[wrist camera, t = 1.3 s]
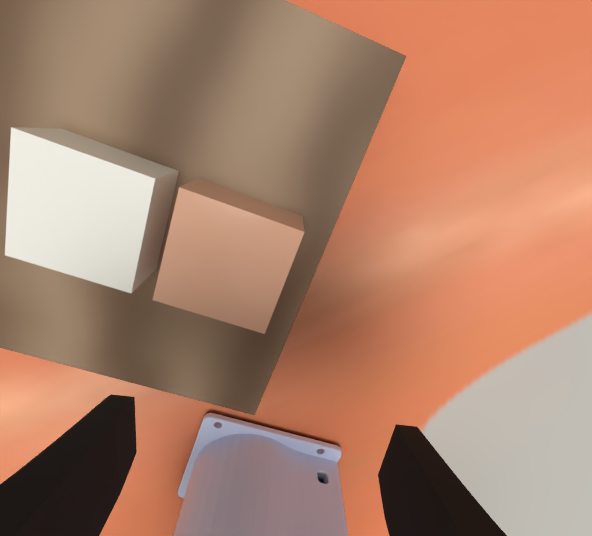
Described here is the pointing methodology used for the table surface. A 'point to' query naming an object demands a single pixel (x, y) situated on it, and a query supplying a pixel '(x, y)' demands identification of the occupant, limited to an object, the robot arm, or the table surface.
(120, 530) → the table surface
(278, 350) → the walnut board
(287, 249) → the terracotta tile
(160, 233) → the cream tile
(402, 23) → the table surface
